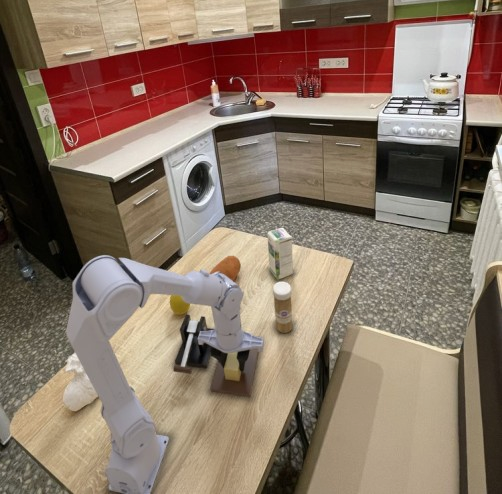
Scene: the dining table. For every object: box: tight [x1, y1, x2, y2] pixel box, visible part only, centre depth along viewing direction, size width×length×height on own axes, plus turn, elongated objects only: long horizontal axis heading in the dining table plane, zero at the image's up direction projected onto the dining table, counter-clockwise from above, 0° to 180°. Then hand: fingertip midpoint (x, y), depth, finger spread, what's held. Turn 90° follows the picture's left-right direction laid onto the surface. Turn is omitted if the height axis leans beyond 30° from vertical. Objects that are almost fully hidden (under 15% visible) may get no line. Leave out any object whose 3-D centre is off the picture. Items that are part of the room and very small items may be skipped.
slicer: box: [174, 314, 215, 369], centre depth 85 cm, size 10×8×9 cm
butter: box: [224, 352, 241, 381], centre depth 79 cm, size 5×3×4 cm, turn 169°
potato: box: [209, 255, 242, 282], centre depth 106 cm, size 7×13×7 cm, turn 137°
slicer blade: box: [172, 319, 199, 375], centre depth 81 cm, size 11×4×2 cm, turn 168°
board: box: [209, 348, 259, 398], centre depth 82 cm, size 14×9×1 cm, turn 169°
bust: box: [61, 352, 99, 412], centre depth 78 cm, size 12×8×11 cm
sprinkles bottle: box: [272, 281, 293, 334], centre depth 88 cm, size 5×5×14 cm
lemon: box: [169, 295, 191, 316], centre depth 96 cm, size 6×6×8 cm
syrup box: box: [266, 227, 294, 281], centre depth 106 cm, size 6×6×14 cm
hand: (234, 366), depth 80 cm, fingers open, 3 cm apart
